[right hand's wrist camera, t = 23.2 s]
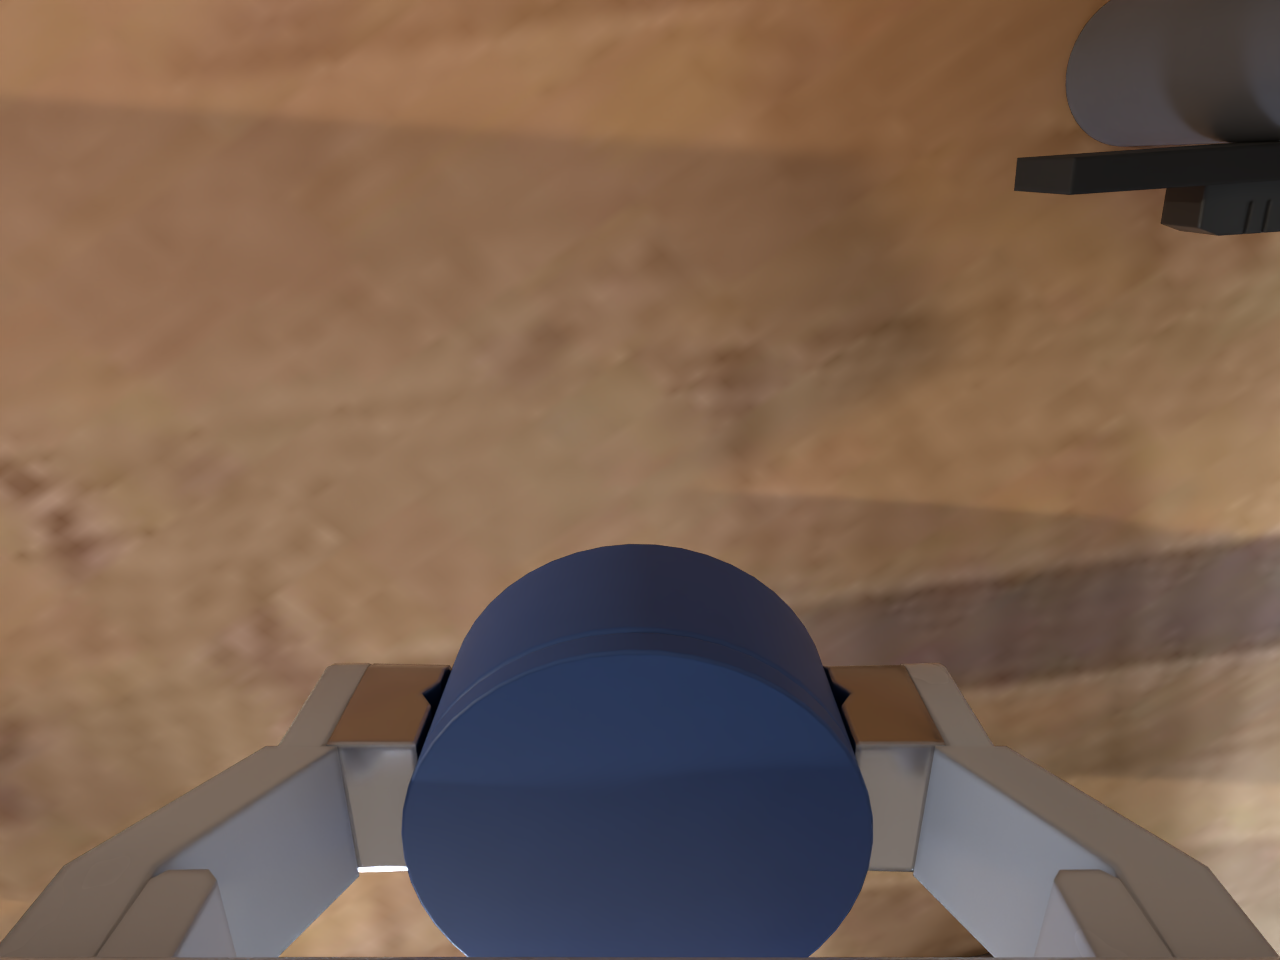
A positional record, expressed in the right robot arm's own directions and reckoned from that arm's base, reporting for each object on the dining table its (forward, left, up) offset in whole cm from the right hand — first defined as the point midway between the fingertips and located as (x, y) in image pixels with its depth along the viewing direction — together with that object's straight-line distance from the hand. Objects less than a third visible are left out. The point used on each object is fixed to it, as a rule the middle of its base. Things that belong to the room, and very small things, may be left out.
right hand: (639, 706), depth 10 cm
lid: (0, 0, +2) cm, 2 cm away
